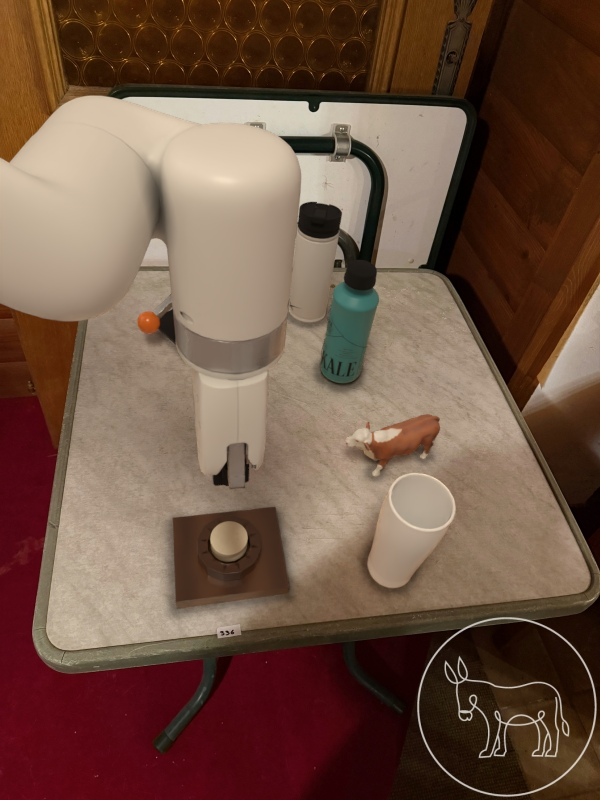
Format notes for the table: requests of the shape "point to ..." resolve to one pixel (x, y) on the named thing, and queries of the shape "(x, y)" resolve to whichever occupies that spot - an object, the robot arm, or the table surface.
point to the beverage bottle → (350, 323)
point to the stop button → (229, 541)
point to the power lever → (154, 317)
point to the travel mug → (313, 261)
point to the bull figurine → (396, 439)
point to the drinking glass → (409, 527)
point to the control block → (228, 581)
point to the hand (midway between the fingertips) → (230, 476)
